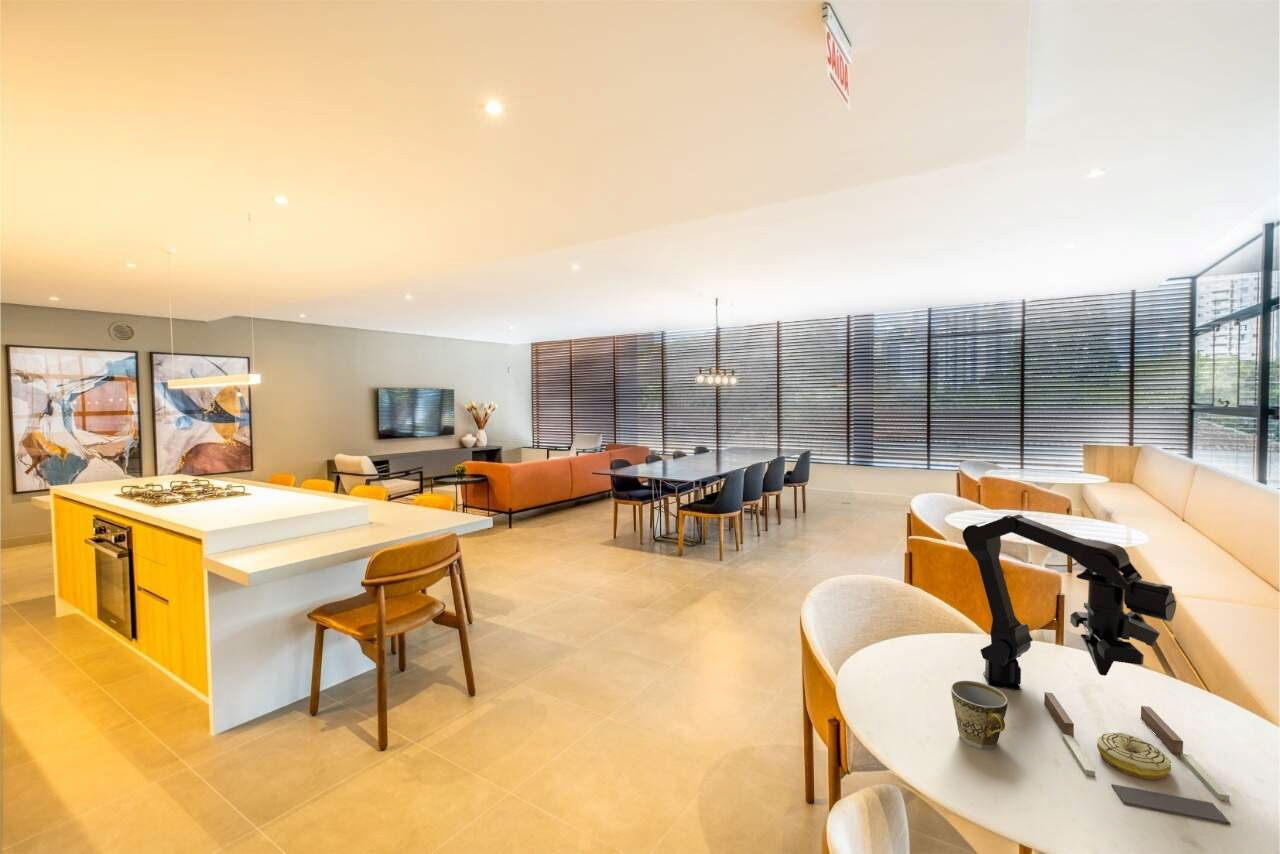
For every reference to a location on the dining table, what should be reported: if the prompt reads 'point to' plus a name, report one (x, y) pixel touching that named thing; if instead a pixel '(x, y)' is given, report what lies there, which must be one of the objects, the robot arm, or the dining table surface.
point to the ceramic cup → (979, 713)
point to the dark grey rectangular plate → (1170, 804)
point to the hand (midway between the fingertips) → (1102, 674)
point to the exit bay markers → (1187, 759)
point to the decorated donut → (1133, 756)
